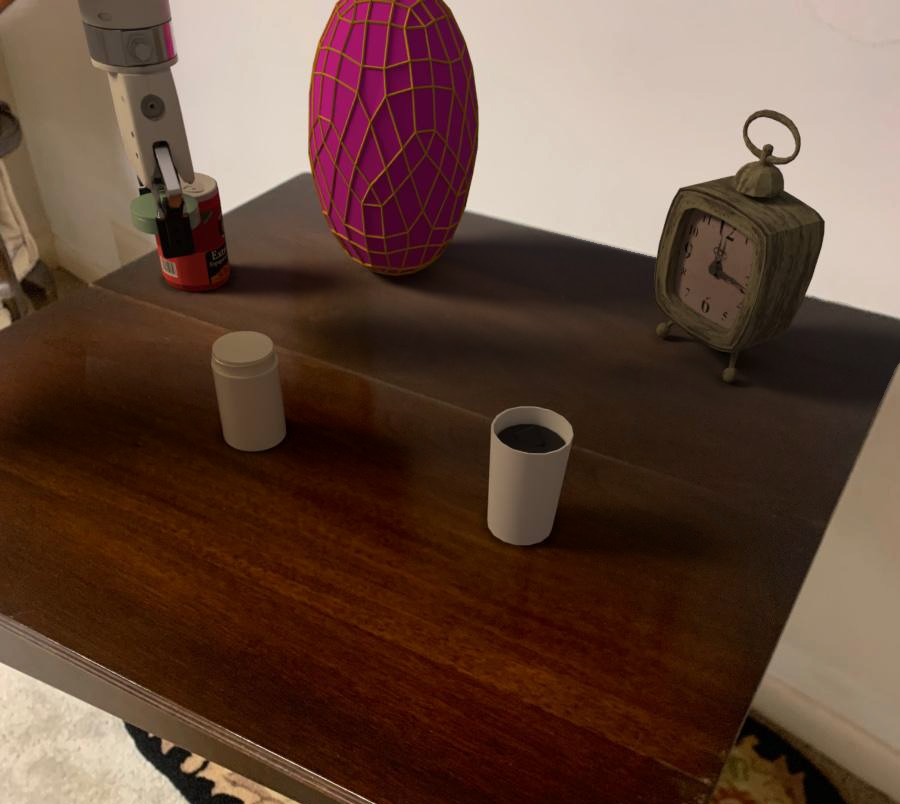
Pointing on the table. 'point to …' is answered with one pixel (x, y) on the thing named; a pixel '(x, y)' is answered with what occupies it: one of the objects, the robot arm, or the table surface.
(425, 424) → the table surface
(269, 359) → the jar
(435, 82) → the decorative egg
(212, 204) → the canned food
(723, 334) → the tabletop clock
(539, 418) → the white cup
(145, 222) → the lid
